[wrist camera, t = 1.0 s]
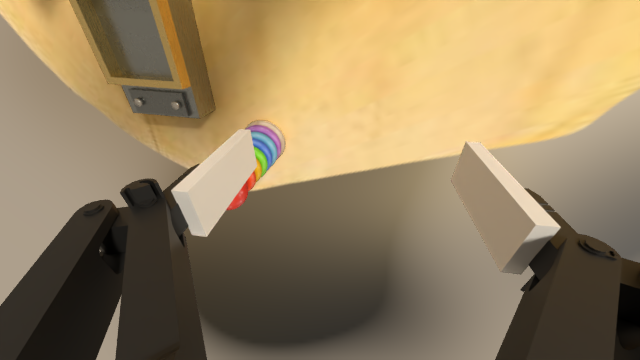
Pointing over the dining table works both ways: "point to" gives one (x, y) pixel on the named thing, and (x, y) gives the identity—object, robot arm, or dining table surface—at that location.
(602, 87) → the dining table surface
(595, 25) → the dining table surface
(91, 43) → the gray gold-framed box
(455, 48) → the dining table surface
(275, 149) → the stacking toy
